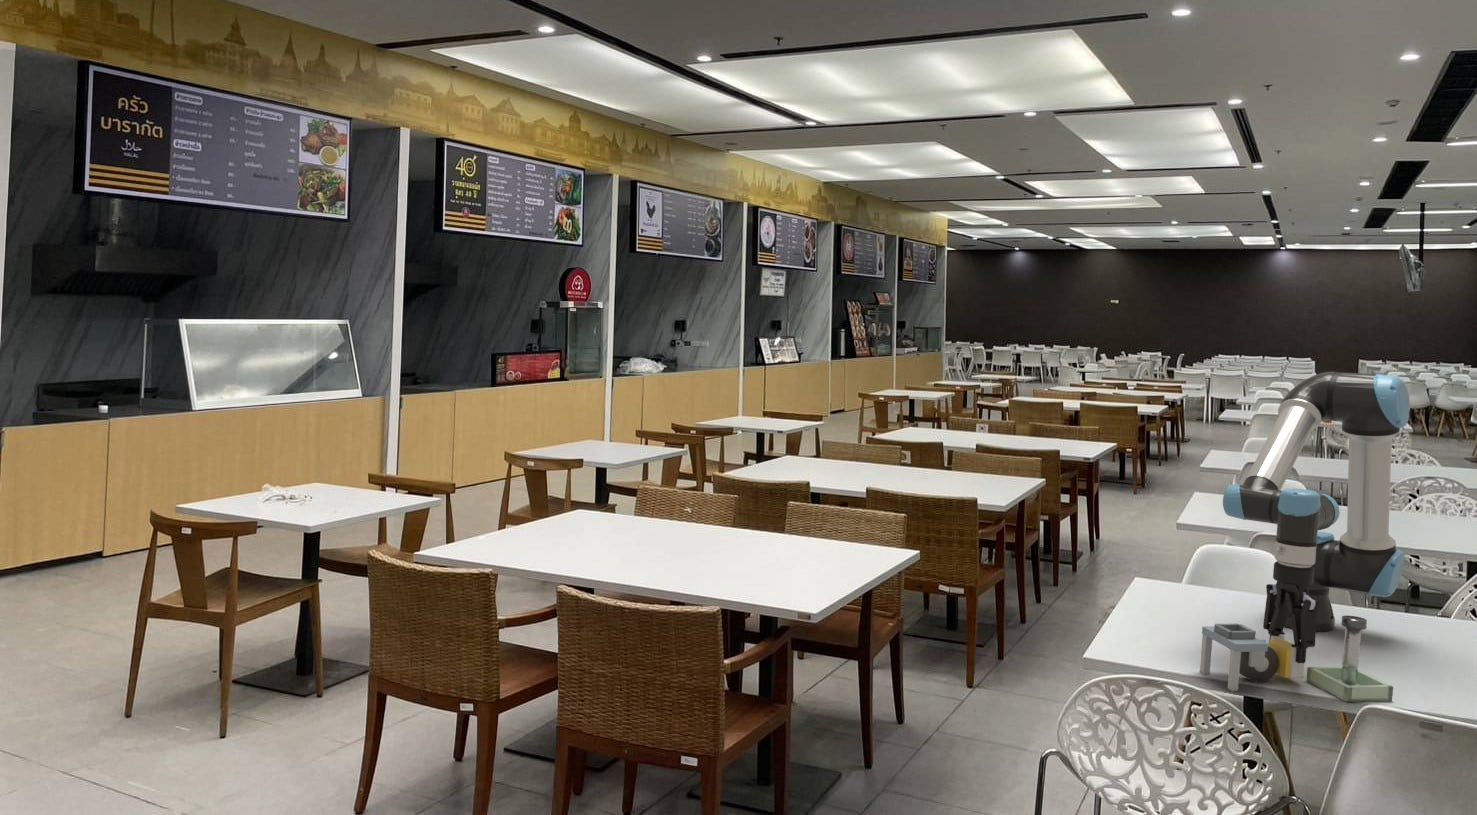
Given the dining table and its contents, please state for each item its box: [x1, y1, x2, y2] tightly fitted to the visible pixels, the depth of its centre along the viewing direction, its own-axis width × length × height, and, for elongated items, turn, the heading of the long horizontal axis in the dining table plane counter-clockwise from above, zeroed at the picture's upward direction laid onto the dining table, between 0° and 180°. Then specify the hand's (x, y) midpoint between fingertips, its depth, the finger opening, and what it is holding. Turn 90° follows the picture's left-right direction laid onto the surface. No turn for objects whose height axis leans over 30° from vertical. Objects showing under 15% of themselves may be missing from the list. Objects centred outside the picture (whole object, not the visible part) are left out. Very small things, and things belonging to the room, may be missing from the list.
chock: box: [1268, 640, 1304, 679], centre depth 221 cm, size 4×6×6 cm, turn 8°
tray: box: [1306, 666, 1394, 703], centre depth 216 cm, size 10×12×3 cm
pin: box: [1340, 615, 1368, 686], centre depth 215 cm, size 4×4×15 cm
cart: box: [1199, 623, 1279, 692], centre depth 220 cm, size 12×13×11 cm
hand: (1285, 671), depth 221 cm, fingers closed on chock, 6 cm apart
